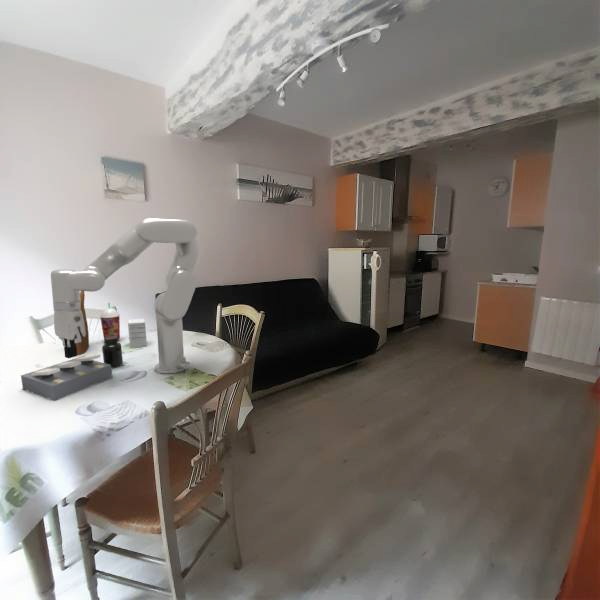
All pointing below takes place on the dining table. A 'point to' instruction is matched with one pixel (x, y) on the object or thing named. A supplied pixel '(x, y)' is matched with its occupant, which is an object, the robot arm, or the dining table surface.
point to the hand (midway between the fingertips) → (71, 356)
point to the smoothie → (110, 322)
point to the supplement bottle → (112, 352)
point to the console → (67, 379)
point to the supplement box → (137, 333)
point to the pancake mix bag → (85, 340)
